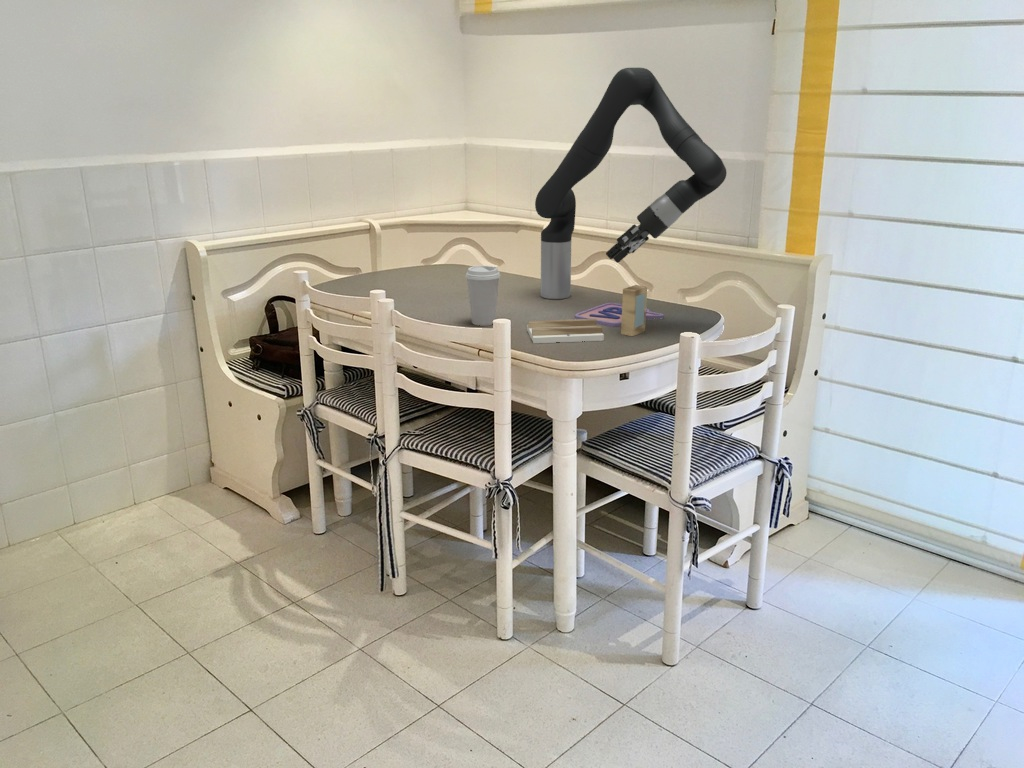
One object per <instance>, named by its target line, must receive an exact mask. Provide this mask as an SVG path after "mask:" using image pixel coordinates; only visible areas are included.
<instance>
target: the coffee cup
mask: <svg viewBox="0 0 1024 768" xmlns="http://www.w3.org/2000/svg"><path fill="white" fill-rule="evenodd" d="M498 269H499V268H498V267H496V266H493V265H474V266H471V267H468V269H467V272H466V273H465V276H464V277H465V279H466V281H467V288H468V289H467V290H468V299H469V306H470V307H469V308H470V319H471V324H473V325H475V326H479V325H480V326H482V327H487V326H493V325H492V321H493V319H495V318H496V319H497V309H498V307H497V306H498V294H499V279H500V278H501V276H502V275H501V272H500V271H499V270H498ZM480 326H479V327H480Z"/></svg>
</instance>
